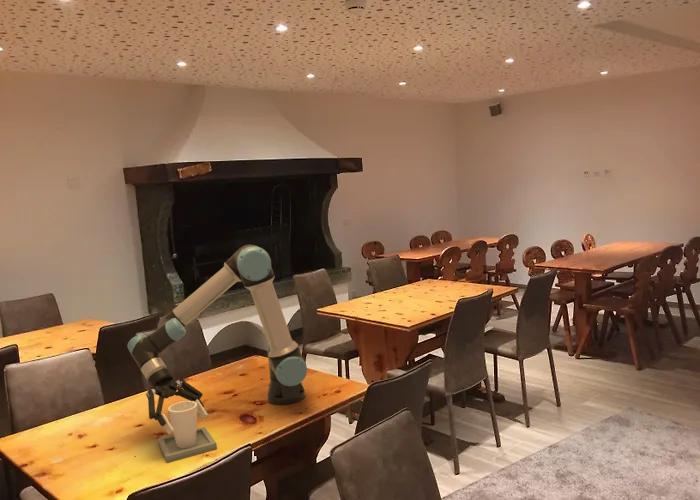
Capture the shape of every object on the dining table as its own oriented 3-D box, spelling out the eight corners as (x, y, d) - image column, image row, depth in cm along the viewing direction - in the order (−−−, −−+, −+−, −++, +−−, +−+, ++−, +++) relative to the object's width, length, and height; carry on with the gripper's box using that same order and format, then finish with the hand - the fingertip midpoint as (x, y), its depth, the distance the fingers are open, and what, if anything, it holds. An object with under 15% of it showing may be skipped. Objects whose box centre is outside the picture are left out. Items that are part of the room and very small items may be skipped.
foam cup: (188, 435, 197) (185, 399, 196) (206, 440, 192) (203, 403, 191) (166, 446, 190) (161, 409, 188) (184, 452, 184) (180, 414, 183)
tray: (205, 432, 202) (204, 426, 201) (216, 448, 188) (216, 443, 187) (158, 444, 194) (157, 438, 194) (166, 462, 180) (166, 456, 180)
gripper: (183, 369, 208) (214, 417, 200) (120, 392, 188) (152, 445, 181) (191, 357, 204) (222, 405, 197) (127, 379, 184) (160, 432, 177)
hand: (189, 424), depth 189 cm, fingers open, 13 cm apart
